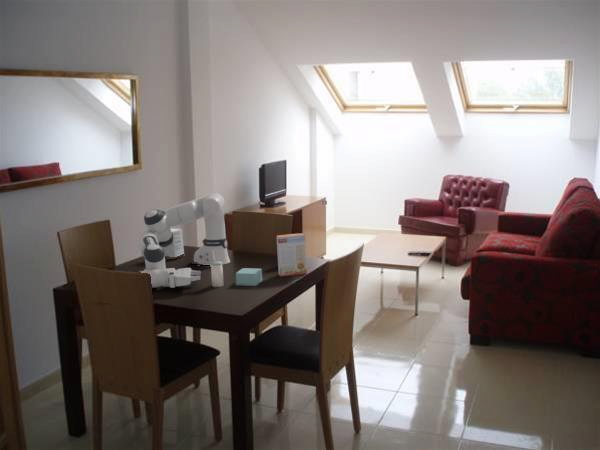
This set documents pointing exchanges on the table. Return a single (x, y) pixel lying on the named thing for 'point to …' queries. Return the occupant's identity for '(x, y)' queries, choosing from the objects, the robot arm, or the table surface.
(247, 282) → the plinth
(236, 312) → the table surface
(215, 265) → the canister
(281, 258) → the cracker box
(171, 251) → the white carton
